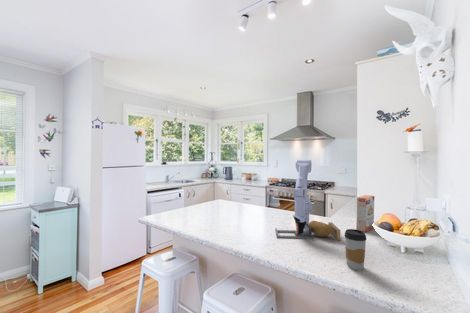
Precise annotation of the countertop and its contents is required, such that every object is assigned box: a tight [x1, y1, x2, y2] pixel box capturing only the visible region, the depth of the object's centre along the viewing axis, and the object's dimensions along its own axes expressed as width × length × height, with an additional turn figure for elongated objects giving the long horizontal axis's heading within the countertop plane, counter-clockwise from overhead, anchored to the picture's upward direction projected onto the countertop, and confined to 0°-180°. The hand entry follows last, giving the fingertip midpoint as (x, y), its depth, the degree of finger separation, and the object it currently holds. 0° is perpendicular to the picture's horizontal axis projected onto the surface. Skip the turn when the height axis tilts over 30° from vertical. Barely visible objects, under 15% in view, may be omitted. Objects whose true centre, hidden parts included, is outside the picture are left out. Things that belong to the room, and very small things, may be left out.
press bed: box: [274, 221, 341, 242], centre depth 133 cm, size 14×34×6 cm, turn 85°
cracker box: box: [356, 194, 375, 233], centre depth 144 cm, size 14×6×21 cm, turn 131°
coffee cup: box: [343, 228, 367, 271], centre depth 96 cm, size 8×8×15 cm
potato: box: [309, 220, 333, 238], centre depth 132 cm, size 10×14×8 cm
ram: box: [293, 223, 313, 237], centre depth 133 cm, size 9×9×7 cm
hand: (299, 230), depth 133 cm, fingers open, 7 cm apart
